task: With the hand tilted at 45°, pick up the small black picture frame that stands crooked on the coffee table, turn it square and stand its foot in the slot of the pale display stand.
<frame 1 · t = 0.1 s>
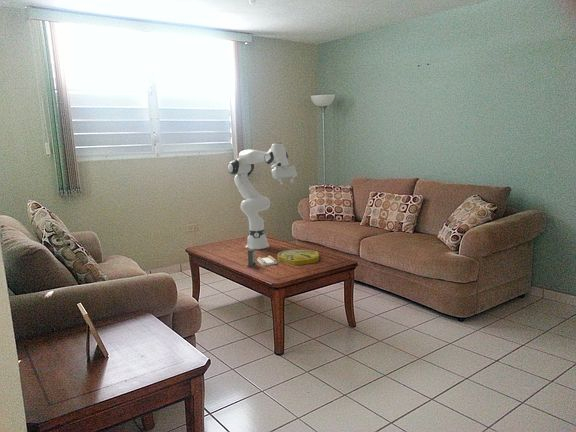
hand: (287, 183, 305), 52 cm above the table, tool tilted 20°, fingers open, 8 cm apart
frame: (251, 265, 294), on the table
display stand: (267, 262, 301), on the table
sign: (298, 259, 308), on the table
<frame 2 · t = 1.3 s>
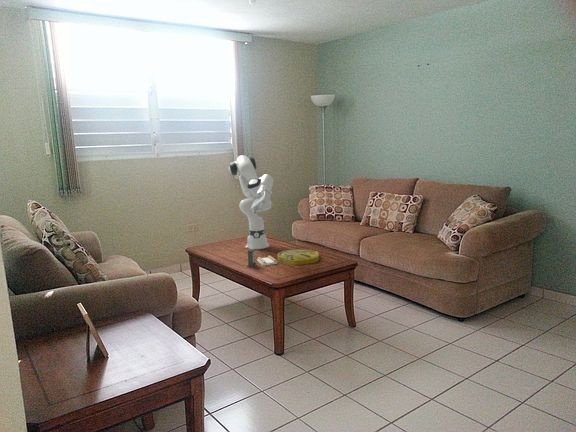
hand: (257, 211, 295), 36 cm above the table, tool tilted 45°, fingers open, 8 cm apart
nothing on the table moved.
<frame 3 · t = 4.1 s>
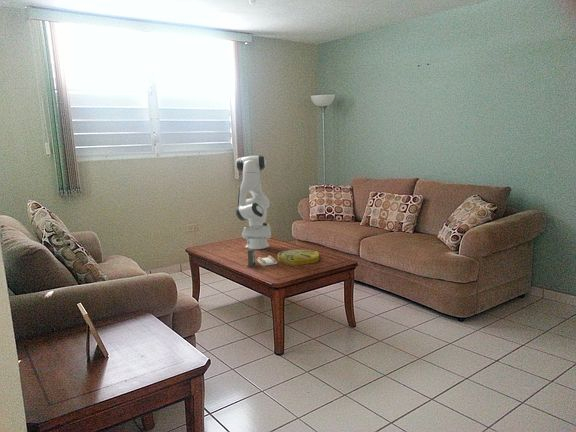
hand: (254, 243, 299), 14 cm above the table, tool tilted 45°, fingers open, 8 cm apart
nothing on the table moved.
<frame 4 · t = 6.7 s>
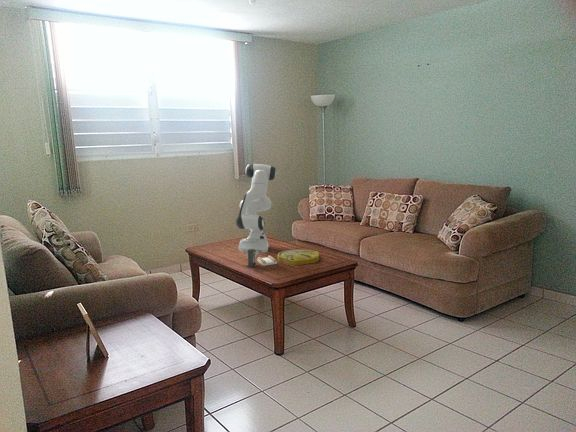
hand: (251, 256, 292), 6 cm above the table, tool tilted 45°, fingers closed on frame, 3 cm apart
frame: (251, 265, 294), on the table, touching gripper
everything else where it was.
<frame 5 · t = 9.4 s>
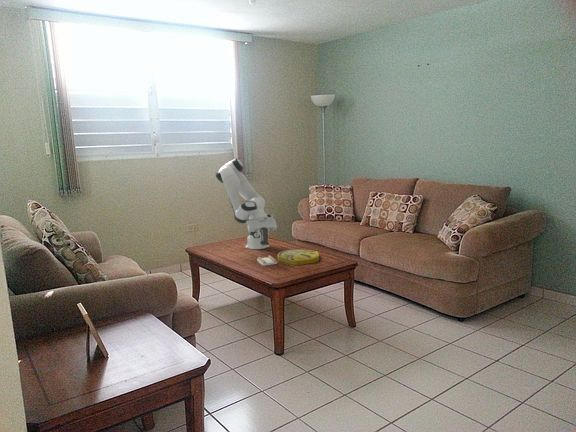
hand: (264, 235, 297), 19 cm above the table, tool tilted 45°, fingers closed on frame, 3 cm apart
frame: (264, 244, 299), point 13 cm above the table, touching gripper
everything else where it was.
when the fingers open (9 cm above the table, at t = 12.1 s): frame drops 1 cm, resting on display stand.
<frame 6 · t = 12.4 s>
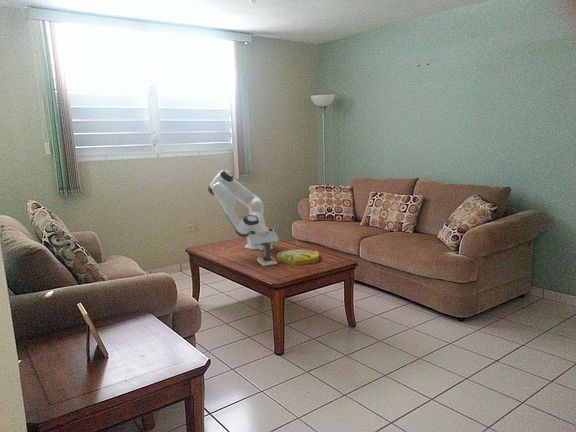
hand: (266, 249, 299), 9 cm above the table, tool tilted 45°, fingers open, 5 cm apart
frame: (267, 260, 301), point 2 cm above the table, touching display stand
everything else where it was.
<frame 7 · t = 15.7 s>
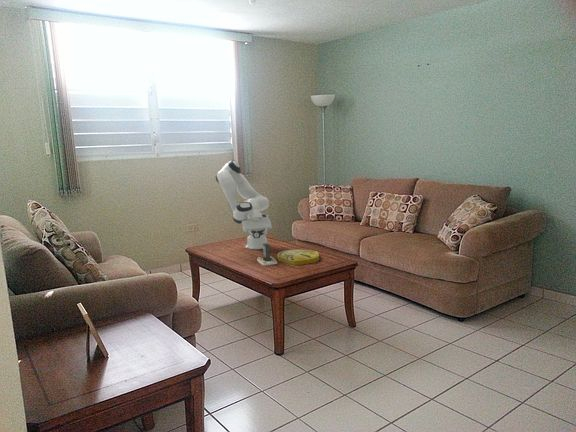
hand: (258, 234, 305), 18 cm above the table, tool tilted 45°, fingers open, 8 cm apart
nothing on the table moved.
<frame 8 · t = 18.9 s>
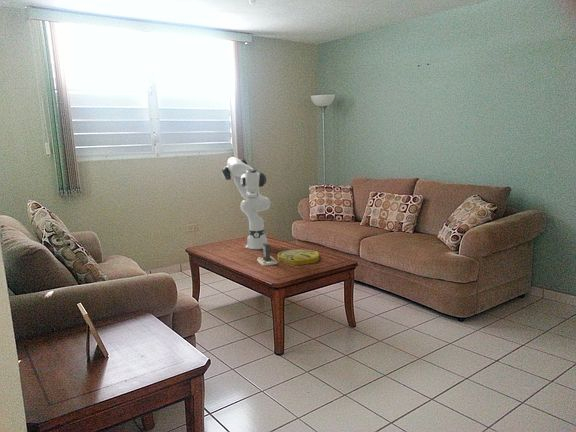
hand: (253, 213, 303), 33 cm above the table, tool pointing down, fingers open, 8 cm apart
nothing on the table moved.
at the end: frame inside the target area on the display stand (0.1 cm from its centre), point 1.5 cm above the display stand's base; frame tilted 0°; the gripper is holding nothing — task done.
